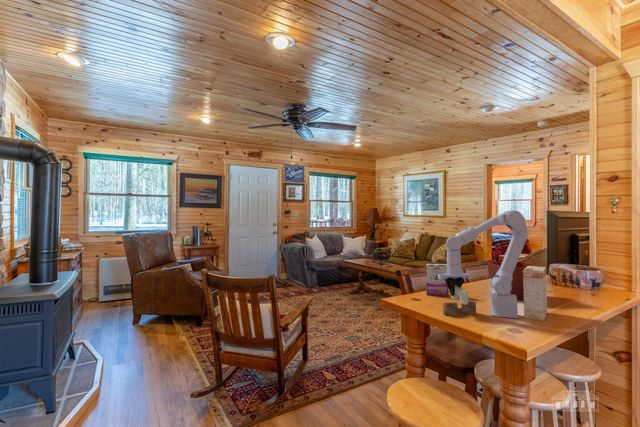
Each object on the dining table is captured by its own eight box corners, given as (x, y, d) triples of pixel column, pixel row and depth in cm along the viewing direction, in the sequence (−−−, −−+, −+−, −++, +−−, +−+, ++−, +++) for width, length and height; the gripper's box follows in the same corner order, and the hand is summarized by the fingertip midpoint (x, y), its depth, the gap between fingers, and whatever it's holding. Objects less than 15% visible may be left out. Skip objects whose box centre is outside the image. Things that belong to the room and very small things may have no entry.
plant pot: (547, 302, 157) (546, 267, 157) (507, 302, 157) (506, 267, 157) (523, 293, 176) (522, 261, 176) (487, 293, 176) (486, 262, 176)
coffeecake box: (528, 309, 145) (527, 265, 145) (548, 312, 140) (546, 266, 140) (523, 318, 133) (522, 270, 133) (544, 321, 129) (543, 271, 129)
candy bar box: (448, 294, 175) (447, 263, 176) (448, 296, 171) (448, 265, 171) (426, 293, 179) (425, 263, 179) (426, 295, 174) (425, 264, 174)
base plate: (473, 312, 142) (472, 300, 142) (476, 313, 140) (475, 301, 140) (443, 314, 139) (443, 302, 139) (446, 315, 137) (445, 303, 137)
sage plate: (450, 297, 145) (450, 285, 145) (454, 297, 145) (454, 285, 145) (464, 304, 135) (464, 291, 135) (468, 304, 135) (468, 291, 135)
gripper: (463, 262, 149) (464, 292, 148) (433, 263, 146) (434, 293, 146) (473, 264, 142) (473, 295, 142) (442, 265, 139) (443, 297, 139)
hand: (454, 295), depth 143 cm, fingers closed on sage plate, 2 cm apart
